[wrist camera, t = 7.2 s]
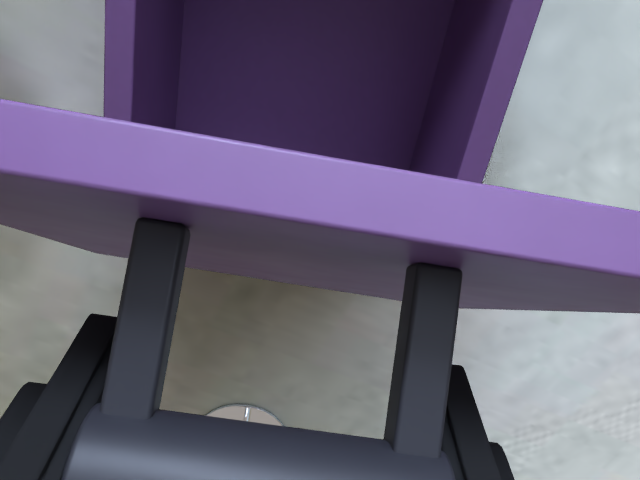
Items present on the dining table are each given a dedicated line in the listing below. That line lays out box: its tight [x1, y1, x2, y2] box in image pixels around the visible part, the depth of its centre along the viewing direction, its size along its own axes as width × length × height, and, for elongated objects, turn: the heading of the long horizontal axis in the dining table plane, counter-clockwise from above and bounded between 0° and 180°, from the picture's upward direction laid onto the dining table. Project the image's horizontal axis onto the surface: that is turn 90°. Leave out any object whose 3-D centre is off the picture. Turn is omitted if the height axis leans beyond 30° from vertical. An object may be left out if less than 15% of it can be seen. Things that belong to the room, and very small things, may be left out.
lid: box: [0, 99, 640, 480], centre depth 14 cm, size 17×14×5 cm
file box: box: [104, 0, 543, 184], centre depth 24 cm, size 16×14×9 cm
